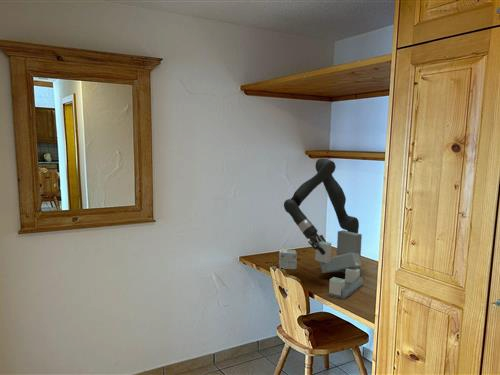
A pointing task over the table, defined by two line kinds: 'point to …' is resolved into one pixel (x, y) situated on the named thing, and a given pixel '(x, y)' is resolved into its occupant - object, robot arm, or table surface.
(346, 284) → the rail
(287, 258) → the light bulb box
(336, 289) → the mounted module
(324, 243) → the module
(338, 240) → the tall upright rectangular panel
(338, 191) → the robot arm
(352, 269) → the mounted module
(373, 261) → the table surface
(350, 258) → the hard drive box
